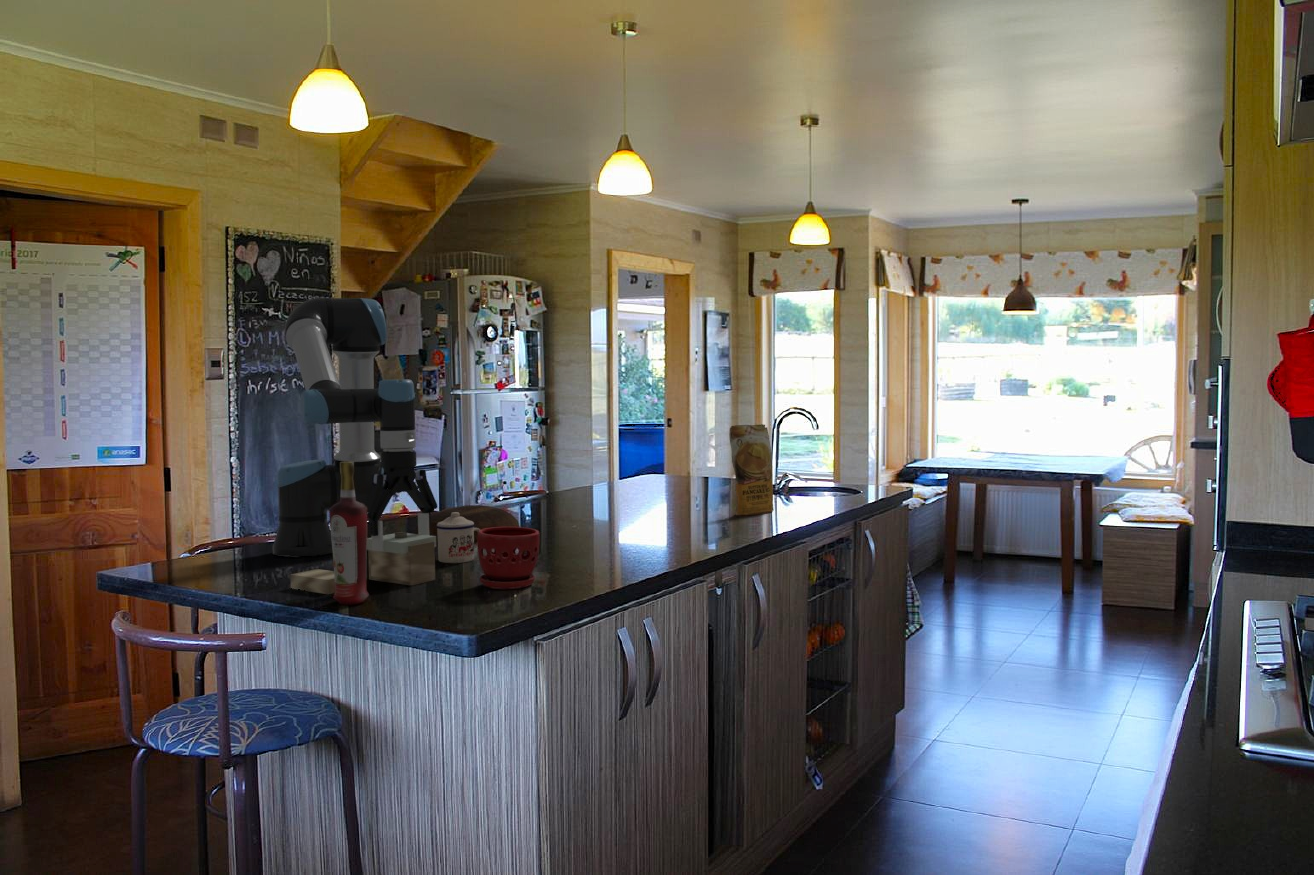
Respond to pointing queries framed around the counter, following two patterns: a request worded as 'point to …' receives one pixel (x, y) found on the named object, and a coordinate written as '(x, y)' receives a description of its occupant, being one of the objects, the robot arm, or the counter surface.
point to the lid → (401, 542)
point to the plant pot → (508, 556)
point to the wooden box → (404, 565)
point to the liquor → (349, 541)
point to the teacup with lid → (456, 539)
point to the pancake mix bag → (752, 468)
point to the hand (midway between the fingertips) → (401, 546)
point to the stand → (314, 581)
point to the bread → (474, 518)
